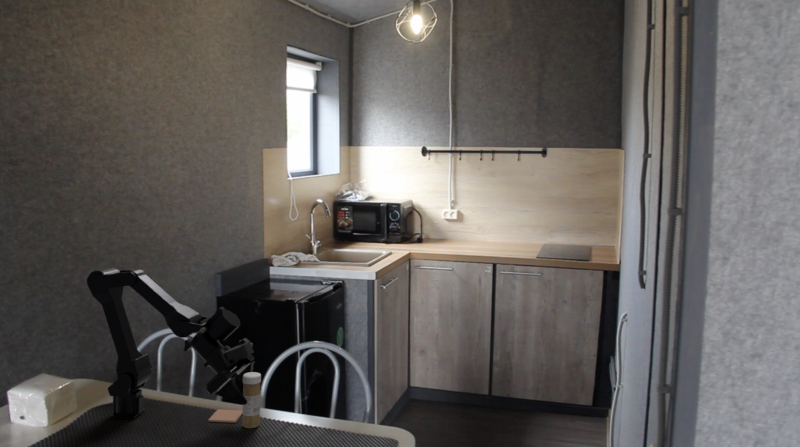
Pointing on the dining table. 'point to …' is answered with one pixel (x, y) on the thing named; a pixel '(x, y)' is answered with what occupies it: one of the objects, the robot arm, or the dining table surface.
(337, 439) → the dining table surface
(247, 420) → the sprinkles bottle
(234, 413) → the tile
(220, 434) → the dining table surface
